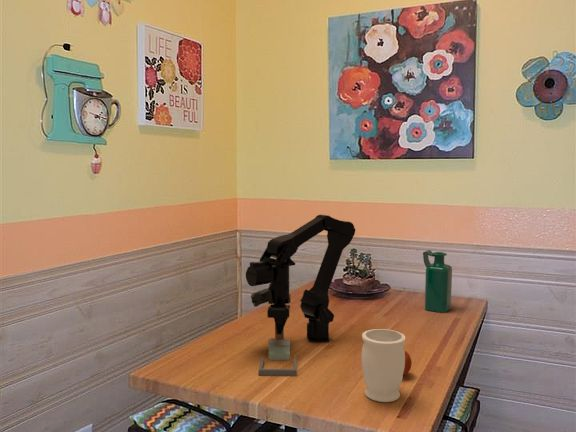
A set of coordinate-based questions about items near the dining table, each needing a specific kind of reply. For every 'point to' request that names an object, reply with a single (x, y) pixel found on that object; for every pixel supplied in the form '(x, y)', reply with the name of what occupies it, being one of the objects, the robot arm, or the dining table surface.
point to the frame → (277, 370)
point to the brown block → (278, 340)
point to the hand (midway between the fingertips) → (279, 332)
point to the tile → (279, 353)
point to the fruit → (407, 363)
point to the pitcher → (437, 283)
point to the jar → (383, 363)
